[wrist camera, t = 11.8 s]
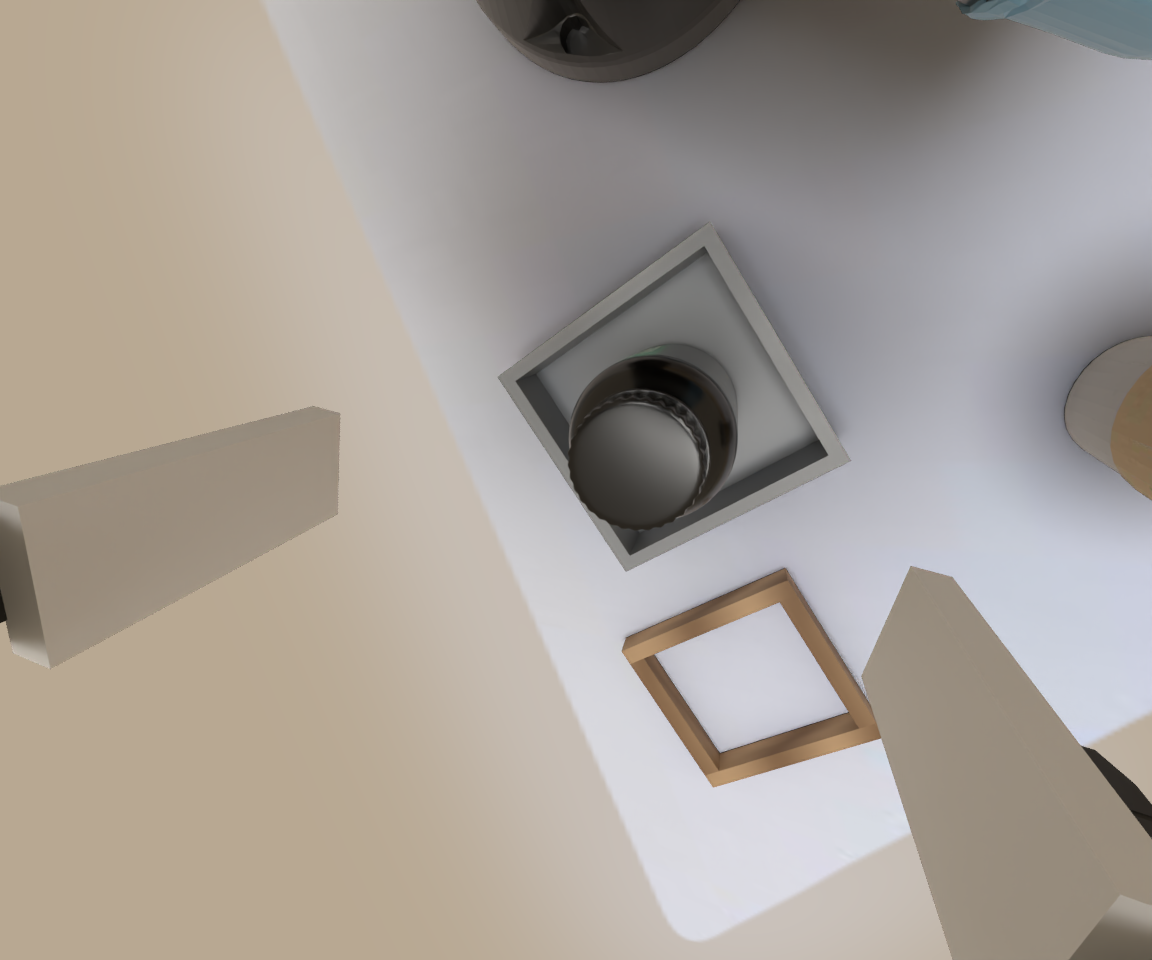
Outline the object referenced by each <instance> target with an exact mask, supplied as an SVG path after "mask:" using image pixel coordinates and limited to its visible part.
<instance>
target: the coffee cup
mask: <svg viewBox="0 0 1152 960" xmlns="http://www.w3.org/2000/svg"><path fill="white" fill-rule="evenodd" d="M1065 423H1066V427H1067V431H1068V432H1069V434H1070V436H1071V438H1072V439H1073V441H1075V442H1076V443H1077V444H1078V445H1079V446H1080V447H1081V448H1082V449H1083V450H1084V451H1086V452H1087V453H1089V454H1090V455H1092V456H1093V457H1095V458H1097V459H1098V460H1100V461H1101V462H1103V463H1104V464H1106V465H1107V466H1109V467H1110V468H1112V469H1113V470H1115V471H1116V472H1118V473H1119V474H1121V476H1122V477H1123V478H1124V479H1125V480H1126V481H1127V482H1128V483H1129V484H1130V485H1131V486H1132V487H1133V488H1134V489H1136V490H1137V491H1139V492H1140V493H1142V494H1143V495H1145V496H1146V497H1148V498H1149V499H1150V500H1152V336H1146V337H1138V338H1135V339H1131V340H1128V341H1125V342H1122V343H1120V344H1118V345H1116V346H1114V347H1112V348H1110V349H1108V350H1106V351H1105V352H1104V353H1102V354H1101V355H1100V356H1098V357H1097V358H1096V359H1094V360H1093V361H1092V362H1091V363H1090V364H1089V365H1088V366H1087V367H1086V368H1085V369H1084V371H1083V372H1082V373H1081V375H1080V376H1079V377H1078V379H1077V380H1076V382H1075V383H1074V385H1073V387H1072V389H1071V391H1070V393H1069V396H1068V399H1067V403H1066V406H1065Z"/></svg>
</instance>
